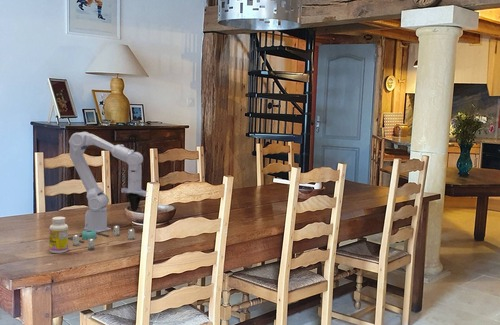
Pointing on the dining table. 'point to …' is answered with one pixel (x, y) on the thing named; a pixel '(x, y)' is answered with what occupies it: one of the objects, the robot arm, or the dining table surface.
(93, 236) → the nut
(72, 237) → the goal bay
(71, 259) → the dining table surface
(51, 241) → the supplement bottle
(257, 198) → the dining table surface
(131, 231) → the spacer field
